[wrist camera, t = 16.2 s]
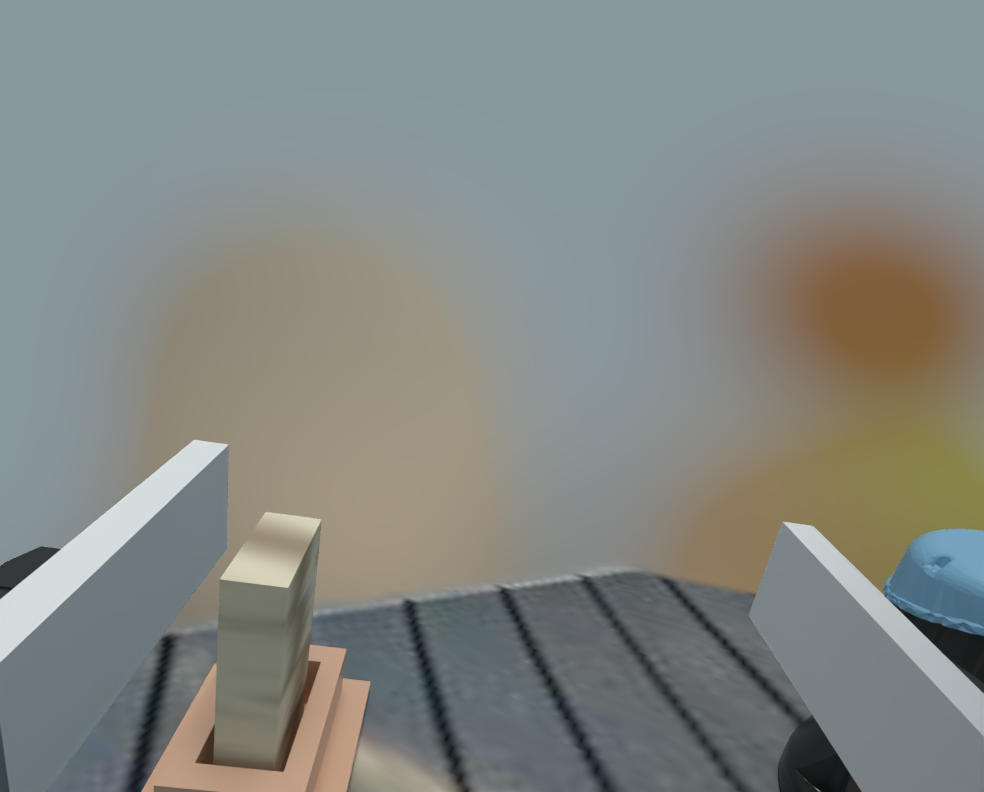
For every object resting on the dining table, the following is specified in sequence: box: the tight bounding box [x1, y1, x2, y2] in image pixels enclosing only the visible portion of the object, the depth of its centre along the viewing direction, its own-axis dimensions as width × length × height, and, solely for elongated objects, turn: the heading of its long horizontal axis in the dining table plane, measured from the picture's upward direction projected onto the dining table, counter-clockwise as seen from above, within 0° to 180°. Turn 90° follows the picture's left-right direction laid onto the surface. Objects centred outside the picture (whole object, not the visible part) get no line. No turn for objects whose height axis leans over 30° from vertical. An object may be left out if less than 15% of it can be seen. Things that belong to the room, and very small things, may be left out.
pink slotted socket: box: [142, 645, 371, 792], centre depth 38 cm, size 14×12×5 cm
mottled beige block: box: [213, 512, 322, 772], centre depth 36 cm, size 7×4×16 cm, turn 2°
